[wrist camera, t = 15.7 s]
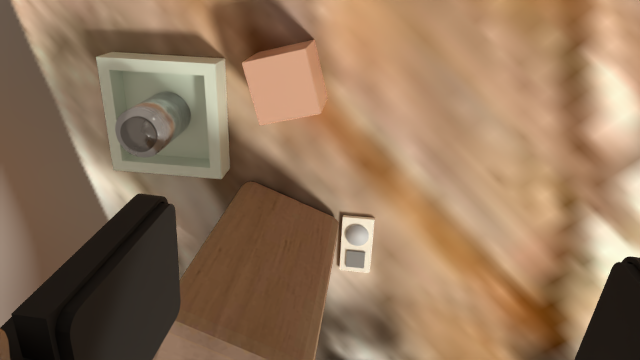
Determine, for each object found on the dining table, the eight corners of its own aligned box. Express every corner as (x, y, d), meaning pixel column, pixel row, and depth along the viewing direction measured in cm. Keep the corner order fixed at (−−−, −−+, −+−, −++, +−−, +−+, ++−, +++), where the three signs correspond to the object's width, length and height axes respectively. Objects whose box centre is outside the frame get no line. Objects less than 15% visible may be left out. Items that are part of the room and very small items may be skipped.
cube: (257, 52, 41) (241, 62, 36) (314, 39, 40) (305, 48, 35) (273, 108, 42) (259, 125, 38) (327, 97, 41) (320, 113, 37)
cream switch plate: (343, 215, 46) (342, 217, 45) (374, 217, 45) (374, 220, 45) (339, 267, 48) (339, 271, 48) (369, 270, 48) (369, 274, 47)
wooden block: (343, 216, 46) (315, 380, 28) (303, 292, 50) (257, 477, 32) (247, 174, 45) (154, 312, 27) (215, 254, 50) (116, 420, 31)
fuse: (142, 92, 43) (107, 111, 37) (186, 90, 42) (157, 108, 36) (152, 135, 44) (119, 160, 38) (194, 133, 44) (167, 158, 38)
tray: (112, 51, 42) (95, 56, 40) (225, 58, 41) (215, 64, 39) (127, 159, 46) (113, 170, 44) (230, 168, 45) (221, 179, 43)
